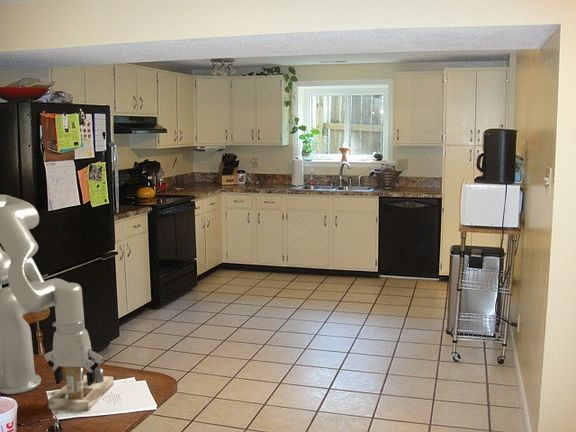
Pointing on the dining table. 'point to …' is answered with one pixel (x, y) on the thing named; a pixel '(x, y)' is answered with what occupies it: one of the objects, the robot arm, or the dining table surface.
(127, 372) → the dining table surface
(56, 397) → the cream square frame
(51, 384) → the dining table surface
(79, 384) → the sprinkles bottle
